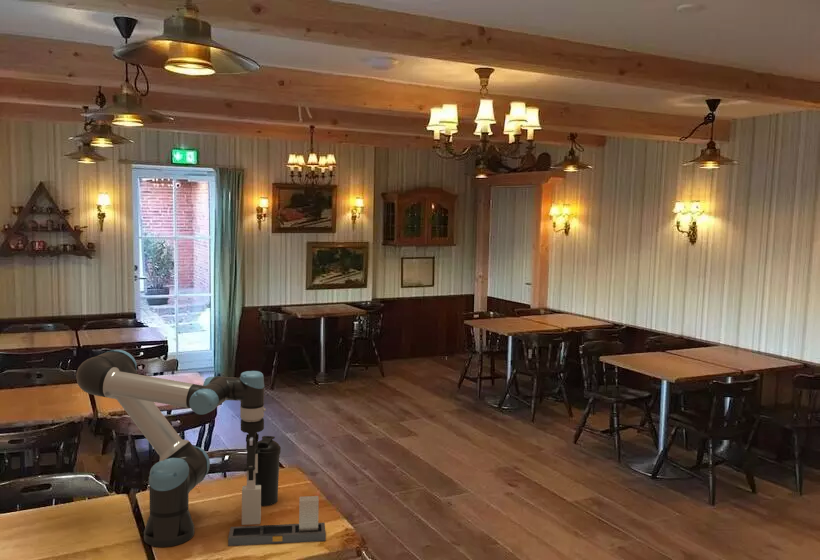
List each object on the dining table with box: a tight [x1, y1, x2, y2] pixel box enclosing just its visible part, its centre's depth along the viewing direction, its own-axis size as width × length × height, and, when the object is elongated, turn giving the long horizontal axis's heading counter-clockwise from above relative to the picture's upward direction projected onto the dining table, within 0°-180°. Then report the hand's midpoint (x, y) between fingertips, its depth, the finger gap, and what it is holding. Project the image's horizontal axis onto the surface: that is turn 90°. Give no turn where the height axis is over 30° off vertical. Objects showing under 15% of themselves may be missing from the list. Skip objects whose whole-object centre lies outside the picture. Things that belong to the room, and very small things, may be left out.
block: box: [241, 485, 262, 526], centre depth 223 cm, size 6×4×12 cm, turn 100°
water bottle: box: [255, 435, 282, 507], centre depth 239 cm, size 10×10×23 cm
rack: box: [227, 495, 327, 547], centre depth 213 cm, size 30×8×13 cm, turn 100°
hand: (252, 480), depth 222 cm, fingers open, 13 cm apart
